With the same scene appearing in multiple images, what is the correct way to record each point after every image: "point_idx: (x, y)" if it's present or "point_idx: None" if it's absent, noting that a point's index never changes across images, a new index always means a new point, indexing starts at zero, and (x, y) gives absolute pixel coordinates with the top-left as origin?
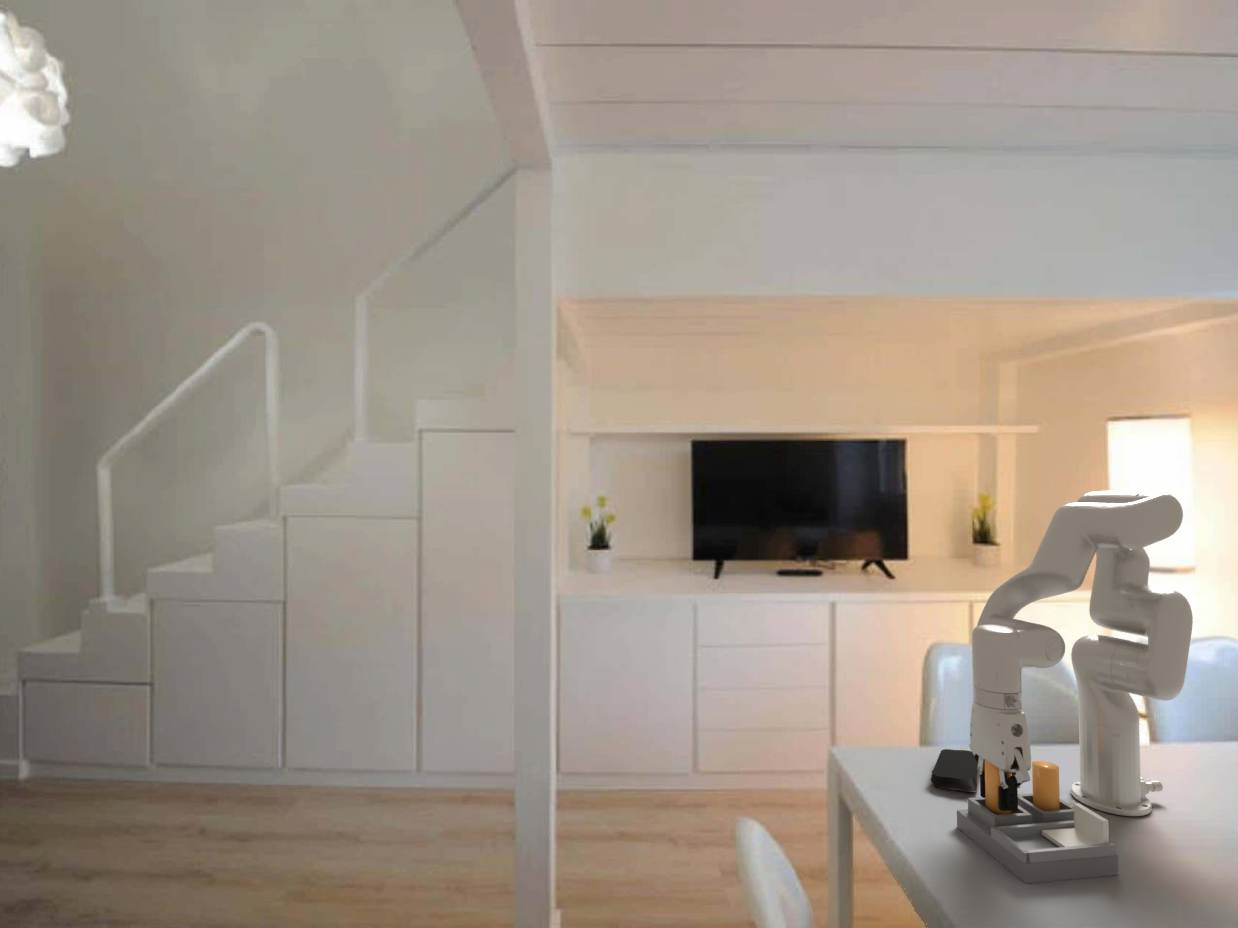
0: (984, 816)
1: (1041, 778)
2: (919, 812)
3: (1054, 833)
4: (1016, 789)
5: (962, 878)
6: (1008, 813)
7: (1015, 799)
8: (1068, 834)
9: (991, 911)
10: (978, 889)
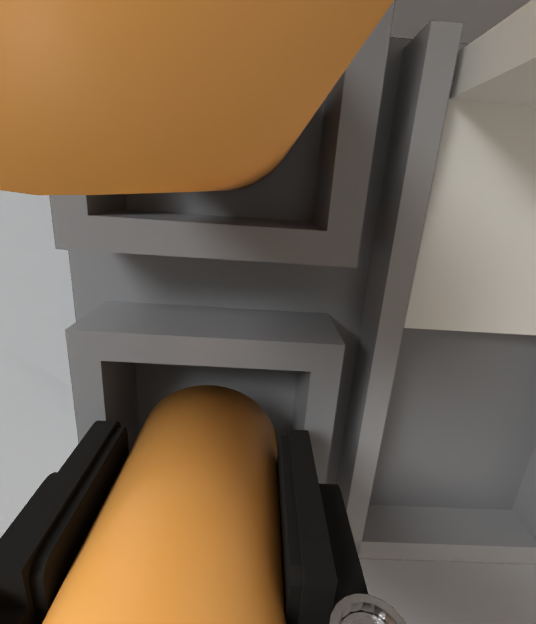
0: None
1: (255, 165)
2: (9, 512)
3: (453, 287)
4: (327, 554)
5: (396, 597)
6: (276, 441)
7: (349, 527)
8: (490, 214)
9: (530, 612)
10: (450, 590)
